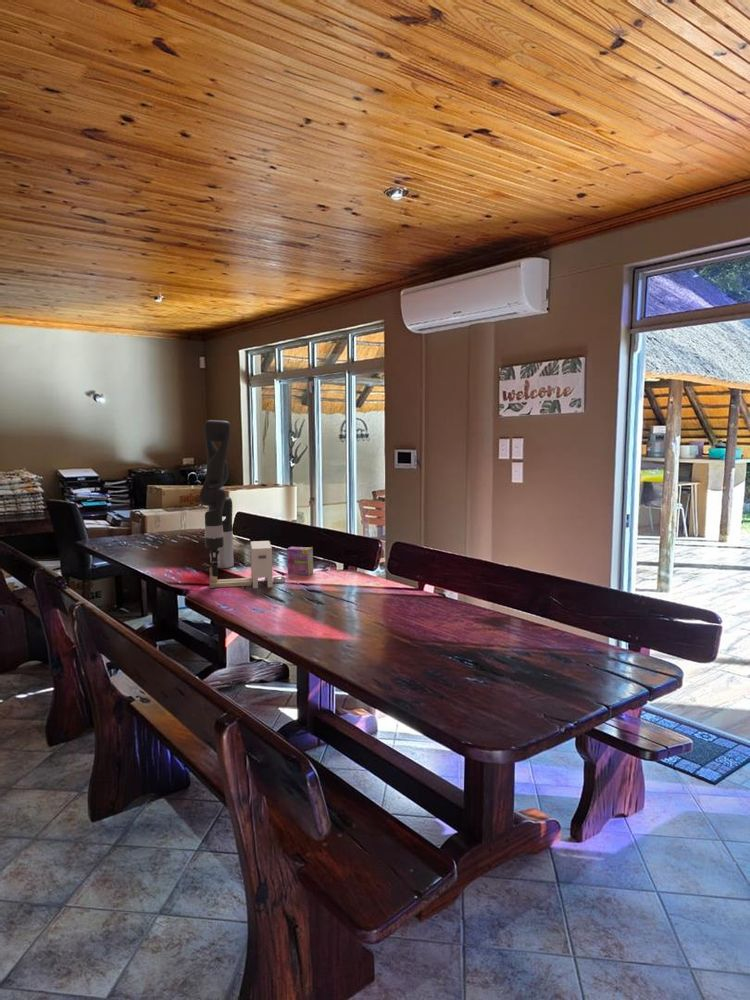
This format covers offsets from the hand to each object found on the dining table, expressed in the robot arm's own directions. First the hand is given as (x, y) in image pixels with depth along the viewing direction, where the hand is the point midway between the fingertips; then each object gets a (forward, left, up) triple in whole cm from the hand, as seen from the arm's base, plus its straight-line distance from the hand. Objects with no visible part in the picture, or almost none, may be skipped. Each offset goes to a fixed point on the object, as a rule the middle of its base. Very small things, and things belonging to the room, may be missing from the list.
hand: (215, 573), depth 268 cm
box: (-14, +37, -5) cm, 40 cm away
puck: (0, +26, -5) cm, 27 cm away
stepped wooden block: (0, +6, -5) cm, 8 cm away
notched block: (0, +19, -5) cm, 20 cm away
